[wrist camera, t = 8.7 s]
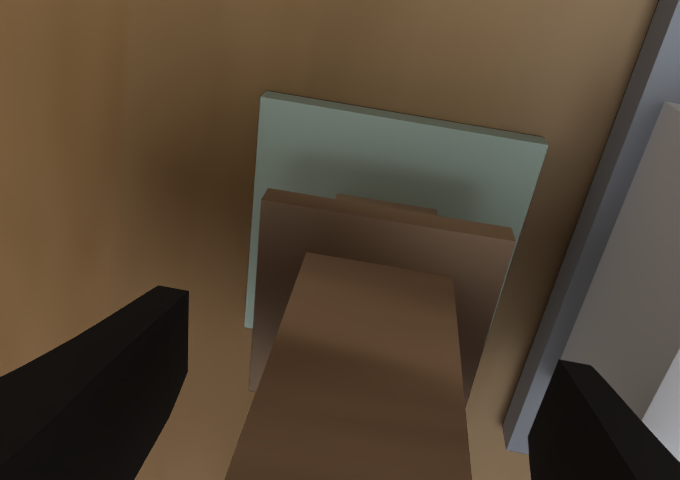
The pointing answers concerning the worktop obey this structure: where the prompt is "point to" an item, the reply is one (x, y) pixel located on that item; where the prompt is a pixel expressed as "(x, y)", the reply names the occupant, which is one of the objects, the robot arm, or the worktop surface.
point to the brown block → (366, 339)
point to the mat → (391, 164)
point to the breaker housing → (623, 259)
